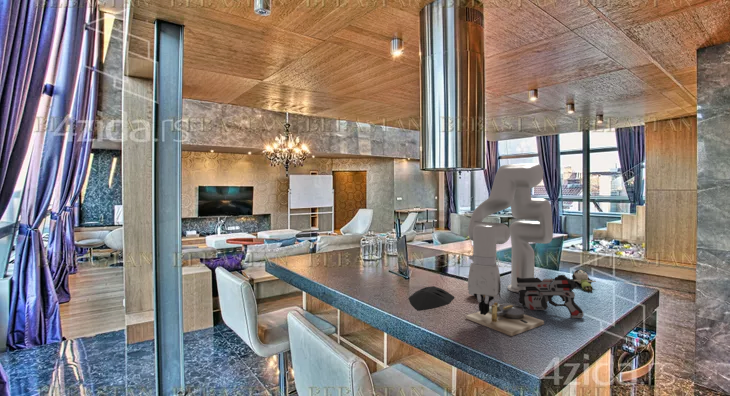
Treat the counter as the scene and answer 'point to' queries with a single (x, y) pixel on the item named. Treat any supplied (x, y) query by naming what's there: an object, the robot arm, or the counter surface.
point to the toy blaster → (548, 293)
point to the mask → (430, 298)
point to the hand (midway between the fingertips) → (484, 313)
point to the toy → (582, 280)
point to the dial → (507, 311)
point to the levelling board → (505, 322)
